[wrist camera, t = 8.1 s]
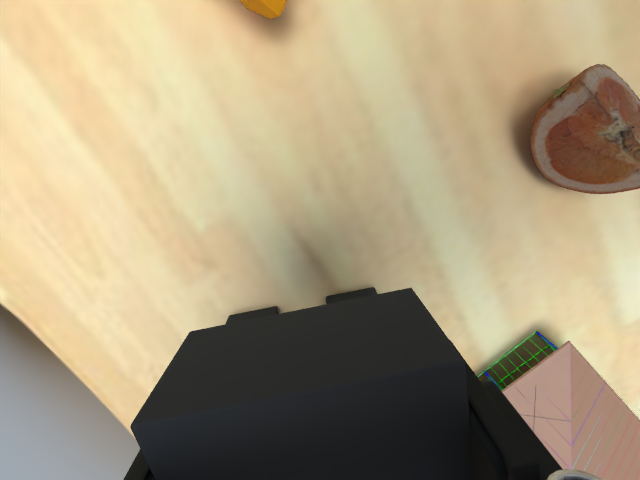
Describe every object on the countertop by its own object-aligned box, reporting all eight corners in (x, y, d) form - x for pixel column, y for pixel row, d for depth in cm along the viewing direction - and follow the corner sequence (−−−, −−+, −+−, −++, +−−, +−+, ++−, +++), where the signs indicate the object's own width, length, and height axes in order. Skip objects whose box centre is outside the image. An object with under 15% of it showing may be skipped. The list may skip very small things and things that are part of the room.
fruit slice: (489, 129, 22) (539, 125, 18) (566, 48, 21) (642, 19, 16) (560, 205, 24) (623, 220, 19) (635, 135, 23) (722, 132, 18)
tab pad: (411, 286, 10) (466, 361, 6) (437, 489, 12) (486, 619, 9) (189, 331, 10) (128, 426, 6) (259, 521, 12) (241, 662, 9)
